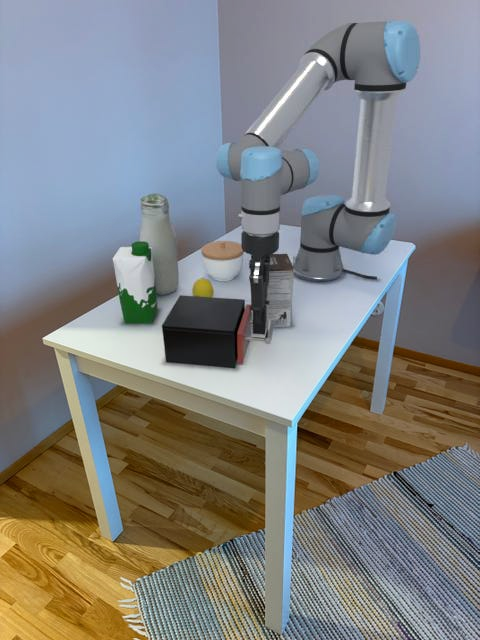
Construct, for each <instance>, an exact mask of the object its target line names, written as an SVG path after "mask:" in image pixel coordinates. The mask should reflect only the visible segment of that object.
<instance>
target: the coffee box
mask: <svg viewBox="0 0 480 640" xmlns="http://www.w3.org/2000/svg"><path fill="white" fill-rule="evenodd" d="M294 275H295V274H294V267H293V263H292V261H291V259H290V257H289V255H288V253H273V254H270V264H269V274H268V284H267V298H266V300H267V301H269V305H266V304H265V306H266V321H269V320H274V321H275V325H274V328H287V327H292V325H291V324H292V309H293V291H294ZM267 326H268V325H266V328H267Z"/></svg>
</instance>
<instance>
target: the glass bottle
mask: <svg viewBox="0 0 480 640" xmlns="http://www.w3.org/2000/svg"><path fill="white" fill-rule="evenodd" d="M169 210H170V203H169V201H168V198H167V197H166V196H165V195H164V194H161V193H150V194H147V195H144V196H143V197H141V198H140V211H141V214H142V215H141V226H140V232H139V239H138V242H139V241H144V242H147V243H148V245H149V247H152V258H153V268H154V276H155V285H156V293H157V296H158V295H162V296H164V295H169V294H172V293H173V292H175V291H176V289H178V286H179V280H180V276H179V275H180V272H179V260H178V239H177V234H176V232H175V228H174V226H173V222H172V220H171V215H170V211H169Z"/></svg>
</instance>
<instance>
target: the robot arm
mask: <svg viewBox="0 0 480 640" xmlns="http://www.w3.org/2000/svg"><path fill="white" fill-rule="evenodd" d="M420 41H421V40H420V36H419V34H418V30H417V28H416V26H415V25H414V24H413V23H411V22H409V21H406V20H405V21H404V20H393V19H392V20H385V21H370V22H369V21H368V22H367V21H365V22H348V23H345V24H341V25H340V26H337V27H335V28H334V29H332V30H330V31H328V32H327V33H325V35H323V36H322V37H320V38H319V39H318V40H317V41H316V42H315V43H314V44H312V45H311V46H310V47H309V49H307V51H306V52H305V53H304V54H303V55H302V57H300V60H299V62H298V69H296V71H295V72H294V73H293V74H292V76H291V77H290V78H289V79H288V81H287V82H286V83H285V84H284V85H283V87H281V89H280V90H279V92H277V94H276V95H275V96H274V97H273V99H272V100H271V102H269V103H268V105H267V106H266V107H265V108H264V110H263V111H262V112H261V114H259V116H258V117H257V118H256V119H255V120H254V122H253V123H252V124H251V125H250V127H249V128H248V129H247V130H246V132H245V133H244V134H243V136H241V138H240V139H239V140H238V142H234V141H232V142H226V143H223V144H222V145H221V146H220V147H219V149H218V151H217V152H216V157H215V165H216V169H217V172H218V173H219V174H220V176H222V177H224V178H226V179H230V180H232V181H235V182H240V191H241V192H240V196H241V197H240V199H241V200H240V201H241V205H240V209H241V213H240V212H239V214H238V216H237V217H238V218H239V219H241V230H242V232H241V235H240V236H241V237H240V238H241V243H240V244H241V247H242V250H243V251H244V253H245V254H249V255H250V259H249V262H248V268H249V270H250V271H249V273H250V274H249V276H248V278H249V284H250V304H249V305H250V307H249V309H251V310H252V320H253V324H252V334H253V335H261V336H262V335H263V336H265V335H266V330H267V327H266V306H265V304H266V305H269V301H267V300H266V298H267V284H268V274H269V264H270V254H276V252H278V251H279V249H280V232H279V231H280V229H281V198H282V197H281V196H284V195H286V194H290V193H292V192H295V191H298V190H303V189H305V188H306V187H308V186H311V185H313V183H314V182H316V181H317V178H318V176H319V174H320V162H319V159H318V157H317V156H316V154H315V153H314V152H313V151H312V150H310V149H308V148H295V149H293V150H285V149H280V148H279V147H280V146H281V145H282V143H283V142H284V141H285V140H286V138H287V137H288V135H290V133H291V132H292V130H293V129H294V128H295V126H296V125H297V124H298V123H299V122H300V120H301V119H302V118H303V117H304V116H305V114H306V113H307V111H309V109H310V108H311V106H312V105H313V104H314V103H315V102H316V100H318V98H319V96H320V95H321V93H323V92H326V91H329V90H330V89H331V88H332V87H333V85H334V84H335V83H337V82H341V81H354V87H353V91H354V92H355V94H357V96H358V97H359V103H358V104H359V105H358V115H357V116H358V117H357V118H358V119H357V130H356V141H355V152H354V164H353V175H352V188H351V195H350V197H349V198H348V199H346V201H345V197H344V196H341V195H338V194H322V195H316V196H312V197H309V198H307V199H305V200H304V201H303V203H302V206H301V207H302V208H301V214H300V216H301V217H300V218H301V219H300V238H299V239H300V240H299V241H300V242H299V249H298V251H297V254H296V256H294V255H292V260H293V263H292V265H293V267H294V275H295V276H296V277H297V278H299V279H301V280H303V281H307V282H313V283H329V282H333V281H337V280H339V279H340V278H342V277H343V275H344V273H345V274H350V275H353V276H356V277H359V278H363V279H368V280H376V281H377V279H378V276H374V275H367V274H362V273H359V272H356V271H353V270H349V269H346V268H344V265H343V260H342V257H341V252H340V248H344V249H348V250H351V251H355V252H358V253H361V254H367V255H373V256H375V255H379V254H381V253H382V252H383V251H385V249H386V248H387V247H388V245H389V244H390V242H391V240H392V238H393V236H394V233H395V231H396V227H397V221H398V219H397V216H396V214H394V213H393V212H390V210H391V203H390V201H389V200H388V199H387V198H386V193H387V186H388V185H387V184H388V177H389V169H390V162H391V161H390V160H391V154H392V146H393V137H394V129H395V121H396V114H397V106H398V99H399V97H400V96H401V95H402V94H403V93H404V92H405V91H406V89H407V83H409V82H412V81H413V80H414V78H416V75H417V72H418V68H419V66H420V61H421V42H420Z"/></svg>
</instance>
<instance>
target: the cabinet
mask: <svg viewBox="0 0 480 640" xmlns="http://www.w3.org/2000/svg"><path fill="white" fill-rule="evenodd" d="M245 307H246V299H243V298H242V299H241V298H227V297H214V296H213V297H198V296H193V295H182V294H180V295H179V296H178V298H177V299H176V301H175V303H174V304H173V306H172V308H171V309H170V311H169V313H168V314H167V316H166V318H165V319H164V321H163V322H162V324H161V330H162V340H163V349H164V356H165V363H169V364H181V365H191V366H201V367H215V368H223V369H225V368H227V369H236V367H237V364H238V354H237V346H236V350H235V330H236V327H237V324H238V321H239V318H240V315H241V320H242V317H243V314H244V311H245Z"/></svg>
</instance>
